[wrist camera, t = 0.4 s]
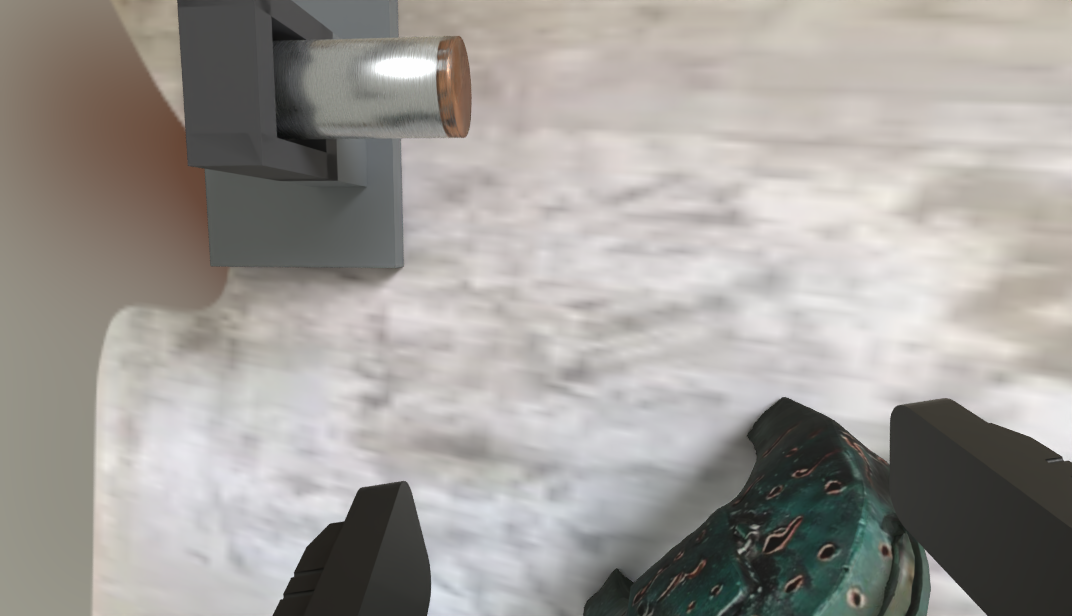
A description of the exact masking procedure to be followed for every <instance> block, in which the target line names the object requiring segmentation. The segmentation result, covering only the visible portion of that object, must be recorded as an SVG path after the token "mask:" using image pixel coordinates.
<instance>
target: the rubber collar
mask: <svg viewBox="0 0 1072 616" xmlns="http://www.w3.org/2000/svg"><path fill="white" fill-rule="evenodd" d="M177 3H178V19H179V34H180V50H181V65H182V81H183V96H184V112H185V128H186V143H187V157H188V158H187V159H188V166H192V167H198V168H204V169H210V170H216V171H222V172H228V173H234V174H240V175H246V176H252V177H258V178H264V179H270V180H276V181H338V168H337V140H336V139H292V140H283V139H279V138H277V126H276V105H275V84H274V62H273V41H287V40H326V39H333V32H332V31H331V30H329V29H328V28H327V27H325V26H324V25H323V24H322V23H320V22H319V21H318V20H316V19H315V18H314V17H313V16H311V15H310V14H309V13H307V12H306V11H305V10H303V9H302V8H301V7H300V6H298V5H297V4H296V3H294V2H293V1H292V0H177Z"/></svg>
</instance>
